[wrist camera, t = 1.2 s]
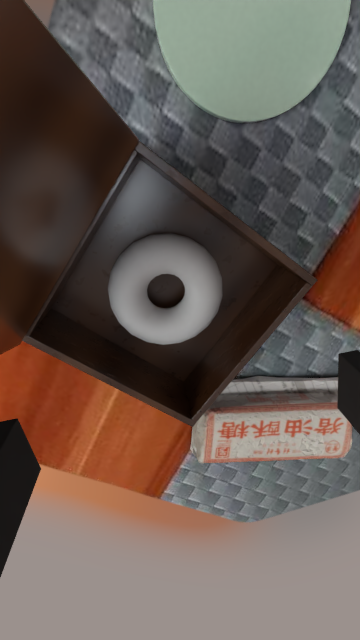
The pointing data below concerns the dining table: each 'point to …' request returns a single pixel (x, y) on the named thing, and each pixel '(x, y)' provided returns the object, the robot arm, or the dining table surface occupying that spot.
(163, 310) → the donut
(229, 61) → the saucer
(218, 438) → the packaged product
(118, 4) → the dining table surface
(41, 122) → the lid
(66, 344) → the wooden box
